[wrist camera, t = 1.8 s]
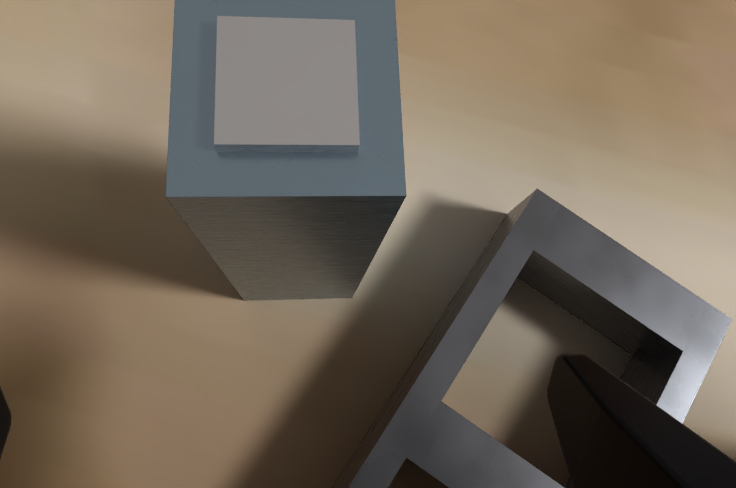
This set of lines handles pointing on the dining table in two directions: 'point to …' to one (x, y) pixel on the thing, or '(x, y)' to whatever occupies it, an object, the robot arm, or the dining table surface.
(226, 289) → the dining table surface
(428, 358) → the grey slotted rack
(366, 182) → the light blue tall block
